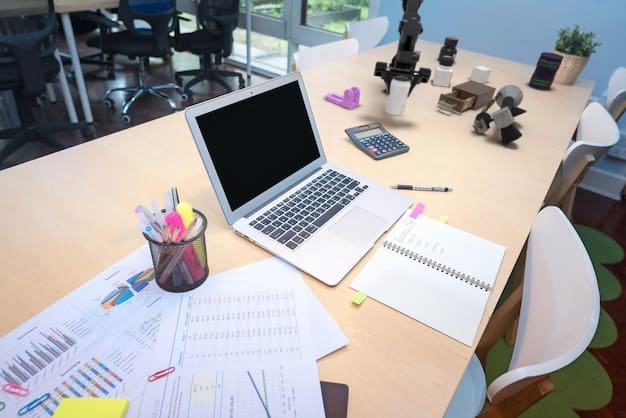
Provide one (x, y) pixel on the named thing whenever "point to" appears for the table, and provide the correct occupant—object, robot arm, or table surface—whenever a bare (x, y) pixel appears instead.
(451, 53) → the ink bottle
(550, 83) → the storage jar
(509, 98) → the abstract shape sculpture
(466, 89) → the organizer
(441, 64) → the medicine bottle
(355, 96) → the bracket
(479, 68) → the white cube
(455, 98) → the drawer
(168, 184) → the table surface
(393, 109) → the can
